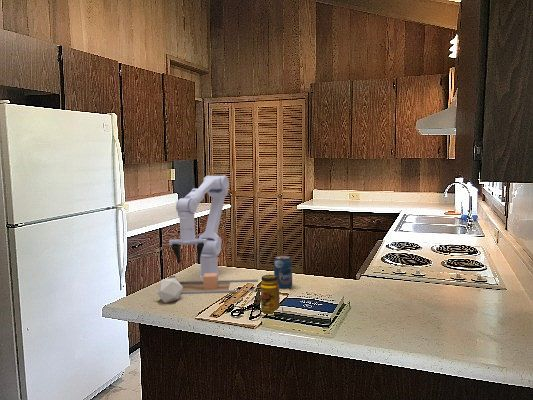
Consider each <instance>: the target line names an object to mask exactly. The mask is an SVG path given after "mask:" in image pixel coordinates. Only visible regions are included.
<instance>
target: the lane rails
mask: <svg viewBox="0 0 533 400" xmlns="http://www.w3.org/2000/svg"><path fill="white" fill-rule="evenodd" d="M177 281H178V280H177ZM178 282H179V283H180V284H196V283H203V280H183V281H182V280H181V281H178ZM258 282H259V279H257V278H256V279H229V280H228V279H223V280H222V279H218V283H258ZM242 290H243V289H230V290H229V289H228V290H218V291H182V292H181V294H180V296H182V295H193V294H194V295H197V294H198V295H199V294H202V295H203V294H204V295H205V294H232V293H233V292H236V291H242ZM244 290H245V291H256V289H244ZM233 294H234V293H233Z"/></svg>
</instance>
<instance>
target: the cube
mask: <svg viewBox="0 0 533 400" xmlns="http://www.w3.org/2000/svg"><path fill="white" fill-rule="evenodd" d="M218 280H219V275H218V273H205V274H204V276H203V277H202V281H203V285H204V289H217V287H218Z"/></svg>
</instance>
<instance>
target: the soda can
mask: <svg viewBox="0 0 533 400" xmlns="http://www.w3.org/2000/svg"><path fill="white" fill-rule="evenodd" d="M273 275H276V276H277V277H278V284H279V290H284V289H286V290H287V289H289V290H290V289H291V288H292V286H293V260H292V259H291V256H290V255H277V256H275V258H274V260H273Z"/></svg>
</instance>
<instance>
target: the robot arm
mask: <svg viewBox="0 0 533 400" xmlns="http://www.w3.org/2000/svg"><path fill="white" fill-rule="evenodd" d="M202 180H203V181H202V183H201V184H200V186H198V188H192V189H191V191H190V192H189V193H188V194H186V195H185V197H181V198H179V199H178V200H177V201H176V206H175V209H176V212H177V216H178V218H179V231H180V233H179V234H180V236H179V237H180V238H177V239H176V238H175V239H169V241H168V243H169V244H168V245H169V246H171V249H172V252H174V255H175V258H176V260H177V264H180V263H181V246H183V245H184V246H185V245H186V246H187V245H195V251H196V253H197V255H196V256H197V257H196V261H197V262H196V263H198V264H200V275H199V277H198V278H202V279H203V276H204V274H205V273H218V276H219V275H220V273H221V271H220V270H219V268H218V256H219V254H220V253H221V251H222V238H221V237H220V236H219V235H218V231H219V226H220V222H221V218H222V212H223V208H224V202H225V198H226V197H227V196H228V191H229V187H230V181H229V178H228V176H227V175H225V174H224V175H206V176H205V177H203V179H202ZM206 194H208V196H209V197H211V199H212V200H211V205H210V210H209V213H208V218H207V222H206V226H205V230H204V232H203V233H201V234H200V235H199V236H198V238H196V228H195V227H196V225H195V222H196V221H195V212H197V210H198V206H199V204H200V203H201V202H202V201H203V200H204V197H205V195H206Z"/></svg>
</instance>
